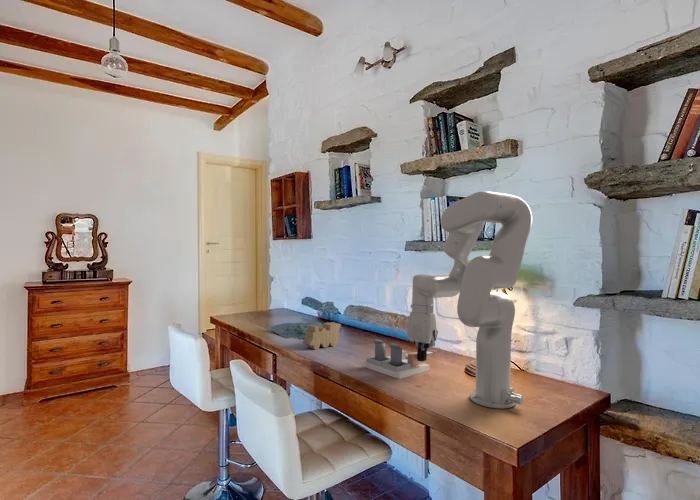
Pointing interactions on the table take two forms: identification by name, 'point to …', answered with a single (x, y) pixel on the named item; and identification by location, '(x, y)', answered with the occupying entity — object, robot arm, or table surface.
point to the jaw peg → (396, 355)
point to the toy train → (322, 335)
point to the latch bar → (413, 359)
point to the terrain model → (293, 329)
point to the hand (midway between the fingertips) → (421, 360)
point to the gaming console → (427, 352)
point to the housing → (383, 365)
